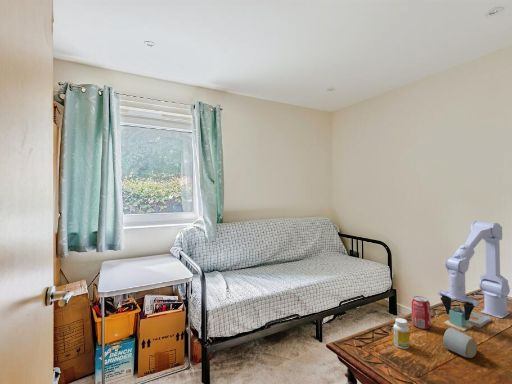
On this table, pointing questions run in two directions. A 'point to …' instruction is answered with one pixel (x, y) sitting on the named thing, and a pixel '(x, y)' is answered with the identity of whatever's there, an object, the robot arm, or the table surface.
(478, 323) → the block
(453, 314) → the teal cube with dome
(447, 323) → the cork coaster
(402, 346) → the supplement bottle
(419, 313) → the soda can
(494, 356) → the table surface
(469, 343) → the grey cylinder
